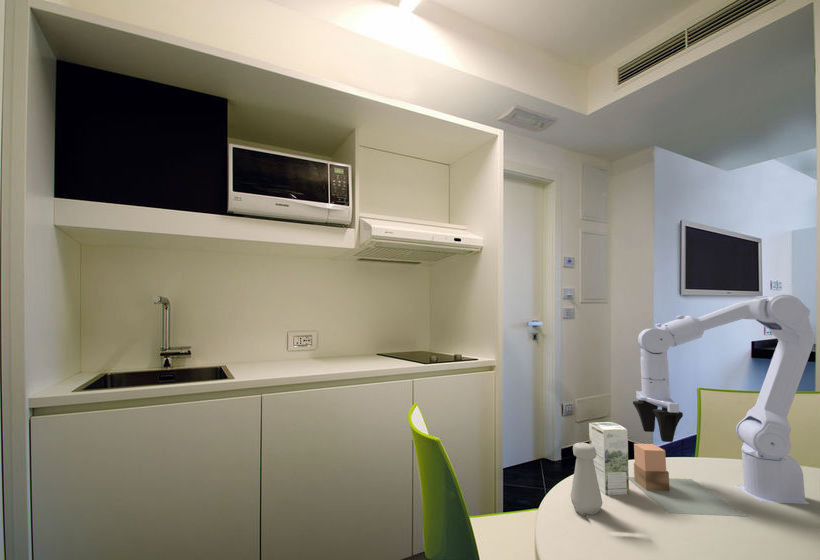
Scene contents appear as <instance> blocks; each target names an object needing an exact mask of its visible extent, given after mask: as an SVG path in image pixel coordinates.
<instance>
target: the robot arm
mask: <svg viewBox="0 0 820 560" xmlns="http://www.w3.org/2000/svg"><path fill="white" fill-rule="evenodd" d="M810 313H811V310H810V308H808V307H807V305H806V304H804V303H803V302H802V300H800V299H799V298H797V297H796V296H794V295H792V294H791V295H790V294H778V295H774V296H765V295H764V296H759V297H757V298H754V299H753V298H752V299H747V300H746V299H745V300H743V301H740V302H736V303H733V304H730V305H727V306H726V307H723V308H720V309H718V310H714V311H712V312H710V313H706V314H704V315H702V316H700V317H694V316H692V315H683V314H679V315H677V316H676V317H675V319H673V320H670V321H667V322H665V323H659V322H658V323H656V324H655V325H654V326H655V327H654V328H653V327H652V328H645V329H644V330H642V331H640V333H638V337H637V339H636V342H637V344H638V346H639V347H640V378H641V391H640V390H636V391H635V392H636V393H635V395H636V400H634V401H632V404H633V406H634V407H635V409H636V411H637V413H638V416H639V418H640V422H641V427H642V430H643V432H646V433H654V432H655V427H656V420H657V424H658V430H659V436H660V439H661V441H662V442H665V443H673V442H674V437H675V433H676V429H677V427H678V424H679V423H680V421H681V419H682V418H683V417H684V414H683V412H682V411H680V403H677V402H676V401H674V399H672V398H671V395H670V393H671V392H670V391H671V390H670V377H669V375H670V374H669V359H668V350H669V349H670V347H671V348H674V347H677V346H680V345H684V344H686V343H689V342H692V341H696V340H698V339H701V338H702V337H703V335H704V333H705V331H707V330H710V329H714V328H717V327H719V326H724V325H727V324H730V323H734V322H737V321H740V320H755V321H756V322H758V323H759V324H761V325H762V326H764V327H765V328H767V329H768V330H769V331H770V332H771V334H773V336H774V337H775V338H776V339H777V345H776V347H775V350H774V352H773V355H772V357H771V360H770V364H769V367H768V369H767V371H766V376H765V378H764V381H763V383H762V386H761V388H760V392H759V394H758V397H757V400H756V402H755V405H754V406H753V407H751V408H750V409H749V410H747V412H746V415H745V417H743V419H741V420H740V421H739V422H737V425H736V426H735V431H736V432H735V433H736V435H737V437H738V438H739V440H741V442H742V446H741V459H742V474H743V475H742V476H743V484H742V485H741V484H735V485H733V487H735V488H736V489H738V490H740V491H742V492H744V493H746V494H748V495H749V496H751V497H752V498H754V499H756V500H757V501H759V502H761V503H781V504H783V503H784V504H808V505H810V502H808V501H806V493H805V480H804V473H803V469H802V466H801V465H800V463H799V462H798V460H796V459H795V458H794V457H792V456H791V455H789V453H790V451H791V449H792V443H791V440H790V434H791V432H792V428H791V426H790V422H789V419H788V415H789V413H790V409H791V407H792V404H793V402H794V399H795V396H796V395H797V394H796V393H797V391H798V388H799V385H800V382H801V379H802V377H803V374H804V372H805V370H806V366H807V363H808V360H809V358H810V354H811V352H812V350H813V347H814V344H815V339H816V338H815V334H814V332H813V328H812V325H811V322H810V317H809V316H810ZM658 408H660V409H658Z"/></svg>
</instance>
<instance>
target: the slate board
mask: <svg viewBox="0 0 820 560" xmlns="http://www.w3.org/2000/svg"><path fill="white" fill-rule="evenodd" d="M629 481H630V482H631V483H632V484H633V485H635V487H636V488H638V489H639V490H640V491H642V492H643V493H644V494H645V495H647V497H648V498H650V499H651V500H652V501H653V502H655V504H657V505H658V506H659V507H661V508H662V509H663V510H664V511H665V512H667V513H668V514H674V515H675V514H678V515H679V514H680V515H704V516H706V515H708V516H729V517H731V516H732V517H749V515H748V514H746V513H745V512H744V511H742V510H740V508H737V507H735V506H734V505H733V504H731V503H729V502H728V501H726V500H725V499H723V498H722V497H720V496H718V495H717V494H715V493H713V492H712V491H711V490H710V489H707V488H706V487H704V485H703V486H702V485H701V484H700V483H699V482H697V481H695V480H693V479H692V478H691V479H690V478H670V477H669V488H670V491H654V490H645V489H644V488H643V487H642V486H640V485H639V484H638V483H637V482H636V481H635V479H634V476H629Z"/></svg>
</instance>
